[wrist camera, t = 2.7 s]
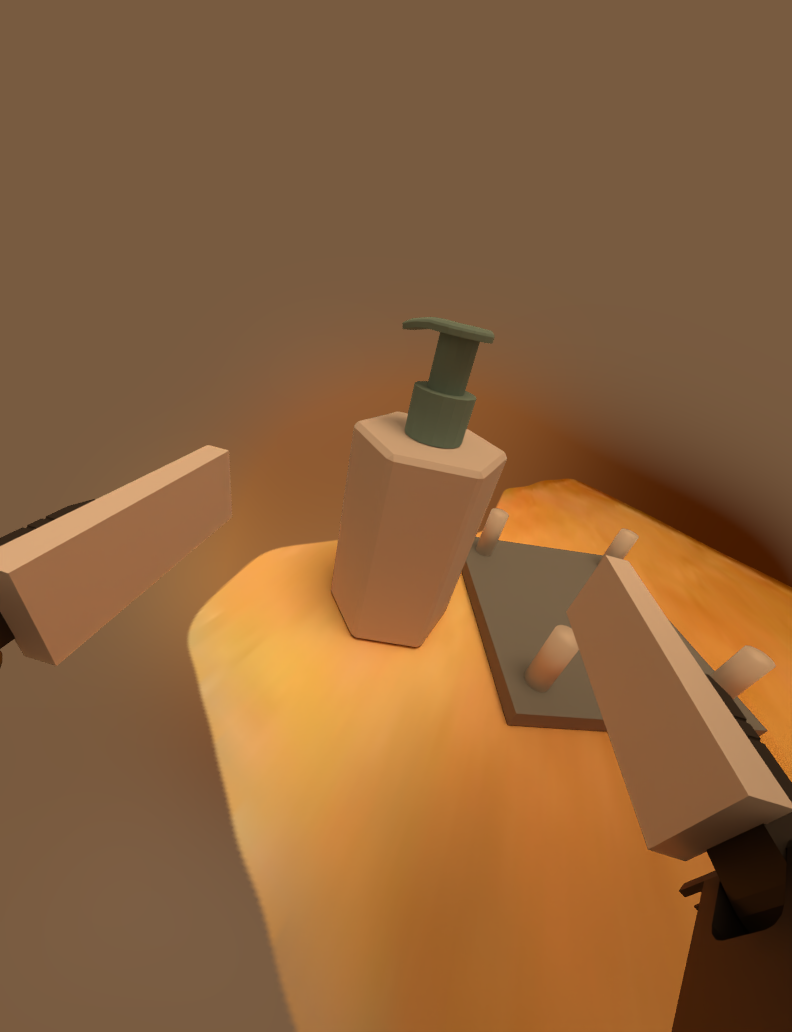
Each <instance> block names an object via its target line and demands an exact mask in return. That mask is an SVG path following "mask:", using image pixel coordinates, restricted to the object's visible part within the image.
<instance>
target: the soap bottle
mask: <svg viewBox="0 0 792 1032" xmlns="http://www.w3.org/2000/svg"><path fill="white" fill-rule="evenodd" d="M403 329H410V330H414V329H415V330H417V329H432V330H435V331H439V332H440V336H439V340H438V344H437V348H436V352H435V356H434V361H433V365H432V369H431V373H430V377H429V381H428V382H427V381H418V382H416V383H415V384H414V389H413V393H412V398H411V403H410V407H409V411H408V414H406V413H402V412H395V413H391V414H387V415H382V416H378V417H374V418H370V419H367V420H362V421H359V422H357V423H356V424H355V426H354V431H353V438H352V445H351V452H350V459H349V466H348V474H347V482H346V488H345V495H344V502H343V509H342V516H341V523H340V530H339V538H338V545H337V552H336V559H335V566H334V573H333V580H332V588H331V592H332V594H333V596H334V598H335V600H336V603H337V605H338V607H339V609H340V611H341V613H342V615H343V618H344V620H345V622H346V624H347V626H348V628H349V631H350V633H351V634H352V635H353V636H354V637H356V638H362V639H369V640H375V641H381V642H387V643H393V644H400V645H406V646H412V647H418V646H421V645H422V643H423V642H424V640H425V639H426V638H427V636H428V635H429V633H430V632H431V631H432V629H433V628H434V626H435V625H436V623H437V622H438V621H439V619H440V618H441V616H442V615H443V613H444V612H445V611H446V608H447V606H448V603H449V601H450V598H451V596H452V593H453V591H454V588H455V586H456V584H457V581H458V579H459V576H460V574H461V571H462V569H463V566H464V564H465V561H466V559H467V556H468V554H469V551H470V549H471V546H472V544H473V541H474V539H475V536H476V534H477V532H478V529H479V527H480V524H481V522H482V519H483V517H484V514H485V512H486V509H487V507H488V504H489V502H490V499H491V497H492V494H493V492H494V489H495V487H496V485H497V482H498V480H499V477H500V475H501V472H502V469H503V467H504V465H505V462H506V460H507V457H506V454H505V452H503V451H502V450H500V449H499V448H497V447H495V446H494V445H492V444H491V443H489V442H487V441H486V440H484V439H482V438H481V437H479V436H478V435H476V434H474V433H473V432H471V431H469V430H468V429H467V425H468V423H469V420H470V417H471V413H472V410H473V407H474V404H475V401H476V397H475V396H474V395H473V394H471V393H469V392H467V391H465V389H466V386H467V383H468V379H469V376H470V372H471V369H472V366H473V363H474V359H475V356H476V352H477V349H478V346H479V343H480V342H484V343H493V340H494V334H493V332H492V331H490V330H486V329H482V328H478V327H474V326H470V325H466V324H461V323H457V322H454V321H450V320H447V319H442V318H435V317H428V318H427V317H426V318H412V319H410V320H408V321H405V322H403Z"/></svg>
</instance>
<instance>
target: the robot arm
mask: <svg viewBox="0 0 792 1032" xmlns="http://www.w3.org/2000/svg"><path fill="white" fill-rule="evenodd" d="M231 517H232V504H231V483H230V463H229V451H228V450H225V449H221V448H217V447H214V446H210V445H207V446H205V447H203V448H201V449H199V450H197V451H194V452H192V453H191V454H188V455H186V456H184V457H182V458H180V459H178V460H176V461H174V462H172V463H170V464H168V465H166V466H164V467H162V468H160V469H158V470H156V471H154V472H151V473H150V474H147V475H145V476H143V477H141V478H139V479H137V480H135V481H133V482H131V483H129V484H127V485H125V486H123V487H121V488H119V489H117V490H115V491H113V492H110V493H108V494H106V495H104V496H102V497H100V498H98V499H96V500H95V499H93V500H89V501H86V502H82V503H78V504H75V505H71V506H67V507H66V508H63V509H61V510H59V511H57V512H55V513H52V514H51V515H48V516H46V519H40V520H38V521H35V522H33V523H31V524H29V525H28V526H27V528H21V529H19V530H16V531H14V532H12V533H10V534H8V535H6V536H4V537H1V538H0V649H1V648H2V647H3V646H5V645H6V644H7V643H9V642H10V641H12V640H13V639H15V641H16V643H17V644H18V646H19V648H20V649H21V651H22V653H23V655H24V656H26V657H29V658H32V659H35V660H39V661H42V662H45V663H48V664H52V665H55V666H57V665H58V664H59V663H60V662H62V661H63V660H64V659H65V658H66V657H67V656H69V655H70V654H71V653H72V652H73V651H74V650H76V649H77V648H78V647H79V646H81V645H82V644H83V643H84V642H85V641H86V640H88V639H89V638H90V637H91V636H92V635H93V634H95V633H96V632H97V631H98V630H99V629H101V628H102V627H103V626H104V625H105V624H107V623H108V622H109V621H110V620H111V619H112V618H113V617H115V616H116V615H117V614H118V613H119V612H121V611H122V610H123V609H124V608H125V607H127V606H128V605H129V604H130V603H131V602H132V601H133V600H135V599H136V598H137V597H138V596H140V595H141V594H142V593H143V592H144V591H145V590H147V589H148V588H149V587H150V586H151V585H152V584H154V583H155V582H156V581H157V580H158V579H160V578H161V577H162V576H163V575H164V574H165V573H167V572H168V571H169V570H170V569H171V568H172V567H174V566H175V565H176V564H177V563H178V562H180V561H181V560H182V559H183V558H184V557H185V556H187V555H188V554H189V553H190V552H191V551H193V550H194V549H195V548H196V547H197V546H198V545H200V544H201V543H202V542H203V541H204V540H205V539H207V538H208V537H209V536H210V535H211V534H213V533H214V532H215V531H216V530H217V529H218V528H220V527H221V526H222V525H223V524H224V523H226V522H227V521H228V520H229V519H230V518H231ZM566 613H567V616H568V619H569V622H570V625H571V628H572V630H573V633H574V636H575V639H576V642H577V645H578V648H579V651H580V654H581V656H582V659H583V662H584V665H585V668H586V671H587V674H588V677H589V680H590V683H591V685H592V688H593V691H594V694H595V697H596V700H597V703H598V706H599V709H600V712H601V714H602V717H603V720H604V723H605V726H606V729H607V732H608V735H609V738H610V741H611V743H612V746H613V749H614V752H615V755H616V758H617V761H618V764H619V767H620V770H621V772H622V775H623V778H624V781H625V784H626V787H627V790H628V793H629V796H630V799H631V801H632V804H633V807H634V810H635V813H636V816H637V819H638V822H639V825H640V828H641V830H642V833H643V836H644V839H645V842H646V845H647V848H648V850H651V851H654V852H657V853H661V854H664V855H667V856H670V857H673V858H677V859H680V860H683V861H687V860H689V859H691V858H694V857H696V856H698V855H700V854H702V853H704V852H706V851H707V853H708V855H709V857H710V859H711V861H712V864H713V866H714V868H715V870H716V871H713V872H711V873H709V874H706V875H704V876H701V877H699V878H696V879H694V880H692V881H689V882H687V883H684V884H683V886H682V887H681V889H680V890H679V892H680V893H681V894H682V895H683V896H684V897H687V896H690V895H693V894H695V893H698V892H702V894H701V898H700V903H699V904H697V905H695V906H694V907H695V908H696V909H697V910H698V912H697V917H696V921H695V926H694V931H693V935H692V940H691V944H690V949H689V954H688V958H687V963H686V967H685V972H684V977H683V981H682V986H681V990H680V995H679V1000H678V1004H677V1009H676V1013H675V1018H674V1023H673V1027H672V1032H792V783H791V781H790V780H789V778H788V777H787V775H786V774H785V773H784V771H783V770H782V768H781V767H780V765H779V764H778V763H777V761H776V760H775V758H774V757H773V756H772V754H771V753H770V751H769V750H768V748H767V747H766V746H765V744H763V743H761V742H760V737H759V736H758V734H757V733H756V731H755V730H754V729H753V727H752V726H751V724H749V723H747V722H746V720H747V719H746V717H745V716H744V714H743V713H742V712H741V710H740V709H739V707H738V706H737V704H736V703H735V702H734V700H733V699H732V697H731V696H730V695H729V694H728V693H727V692H726V691H725V690H724V689H723V688H722V687H721V686H720V685H719V684H718V683H717V682H716V681H715V680H714V679H713V678H712V677H711V676H710V675H708V674H705V673H704V672H703V671H702V669H701V668H700V666H699V665H698V663H697V662H696V660H695V659H694V657H693V656H692V654H691V653H690V651H689V650H688V648H687V647H686V645H685V644H684V642H683V641H682V640H681V638H680V637H679V635H678V634H677V632H676V631H675V629H674V628H673V626H672V625H671V623H670V622H669V620H668V619H667V617H666V616H665V614H664V613H663V611H662V610H661V608H660V607H659V605H658V604H657V603H656V601H655V600H654V598H653V597H652V595H651V594H650V592H649V591H648V589H647V588H646V586H645V585H644V583H643V582H642V580H641V579H640V577H639V576H638V574H637V573H636V571H635V570H634V568H633V567H632V566H631V564H630V563H629V561H626V560H623V559H619V558H615V557H612V556H608V555H605V556H604V558H603V559H602V560H601V562H600V563H599V565H598V566H597V568H596V569H595V571H594V572H593V574H592V575H591V576H590V578H589V579H588V581H587V582H586V584H585V585H584V587H583V588H582V590H581V591H580V592H579V594H578V595H577V597H576V598H575V600H574V601H573V603H572V604H571V606H570V607H569V608H568V610H567V611H566ZM1 664H2V652H1V651H0V667H1Z"/></svg>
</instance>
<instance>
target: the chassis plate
mask: <svg viewBox="0 0 792 1032" xmlns="http://www.w3.org/2000/svg"><path fill="white" fill-rule="evenodd" d="M508 517H509V515H508V513H507V512H505V511H504V510H501V509H498V508H493V509H492V510H491V512H490V515H489V517H488V519H487V522H486V525H485V527H484V529H483V532H482V534H481V536H480V538H479V537H475V539H474V541H473V544H472V546H471V549H470V551H469V554H468V556H467V559H466V561H465V564H464V566H463V569H462V574H463V577H464V581H465V584H466V587H467V591H468V594H469V597H470V601H471V604H472V607H473V611H474V614H475V618H476V621H477V624H478V628H479V631H480V634H481V638H482V641H483V644H484V648H485V651H486V654H487V658H488V661H489V664H490V668H491V671H492V674H493V678H494V681H495V684H496V688H497V691H498V694H499V698H500V701H501V704H502V708H503V711H504V714H505V718H506V721H507V724H508V725H514V726H529V727H545V728H561V729H577V730H592V731H607V729H606V726H605V723H604V720H603V717H602V714H601V712H600V709H599V706H598V703H597V700H596V697H595V694H594V691H593V688H592V685H591V683H590V680H589V677H588V674H587V671H586V668H585V665H584V662H583V659H582V656H581V654H580V651H579V648H578V645H577V642H576V639H575V636H574V633H573V630H572V628H571V625H570V622H569V619H568V616H567V613H566V611H567V610H568V608H569V607H570V606H571V604H572V603H573V601H574V600H575V598H576V597H577V595H578V594H579V592H580V591H581V590H582V588H583V587H584V585H585V584H586V582H587V581H588V579H589V578H590V576H591V575H592V574H593V572H594V571H595V569H596V568H597V566H598V565H599V563H600V562H601V560H602V559H603V558H604V556H605V555H608V556H612V557H615V558H619V559H624V557H625V556H626V554H627V553H628V552H629V550H630V549H631V548H632V546H633V545H634V543H635V542H636V541H637V539H638V538H639V537H638V535H637V534H636V533H634V532H632V531H630V530H628V529H621V530H620V531H619V533H618V534H617V536H616V537H615V539H614V540H613V542H612V543H611V545H610V546H609V548H608V549H607V551H606V552H605V554H604V555H603V556H602V555H596V554H589V553H582V552H575V551H568V550H561V549H554V548H547V547H540V546H534V545H527V544H520V543H513V542H506V541H499V540H498V539H499V537H500V534H501V532H502V530H503V528H504V525H505V523H506V521H507V519H508ZM669 622H670V621H669ZM670 623H671V622H670ZM671 625H672V626H673V628H674V629H675V631H676V632H677V634H678V635H679V637H680V638H681V640H682V641H683V642H684V644H685V645H686V647H687V648H688V650H689V651H690V653H691V654H692V656H693V657H694V659H695V660H696V662H697V663H698V665H699V666H700V668H701V669H702V671H703V672H704V673H705V674H708V675H710V676H711V677H712V678H713V679H714V680H715V681H716V682H717V683H718V684H719V685H720V686H721V687H722V688H723V689H724V690H725V691H726V692H727V693H728V694H729V695H730V696H731V697H732V699H733V700H734V702H735V703H736V704H737V706H738V707H739V709H740V710H741V712H742V713H743V714H744V716H745V717H746V719H747V720H746V722H747V723H749V724H751V726H752V727H753V729H754V730H755V731H756V733H757V734H758V736H761V735H762V734H764V733H765V732H767V729H766V728H765V727H764V726H763V725H762V724H761V723H760V722H759V721H758V719H757V718H756V717H755V716H754V715H753V714H752V713H751V712H750V710H749V709H748V708H747V707H746V706H745V705H744V704H743V703H742V702H741V700H740V699H739V698H738V697H737V696H738V695H739V694H740V693H742V692H743V691H744V690H746V689H747V688H748V687H750V686H751V685H752V684H754V683H755V682H756V681H758V680H759V679H760V678H762V677H763V676H764V675H765V674H767V673H768V672H769V671H771V670H772V669H773V668H775V663H774V662H773V660H772V659H771V658H770V657H769V656H767V655H766V654H765V653H763V652H762V651H760V650H758V649H757V648H754V647H752V646H744V647H743V648H742V649H741V650H739V651H738V652H737V653H736V654H735V655H734V656H732V657H731V658H730V659H729V660H728V661H727V662H725V663H724V664H723V665H722V666H721V667H720V668H718V669H717V670H716V671H714V670H713V669H712V668H711V667H710V666H709V665H708V663H707V662H706V661H705V660H704V659H703V658H702V657H701V656H700V655H699V653H698V652H697V651H696V650H695V649H694V648H693V647H692V646H691V644H690V643H689V642H688V641H687V640H686V639H685V638H684V637H683V635H682V634H681V633H680V632H679V631H678V630H677V629H676V628H675V627H674V625H673V624H672V623H671Z"/></svg>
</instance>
